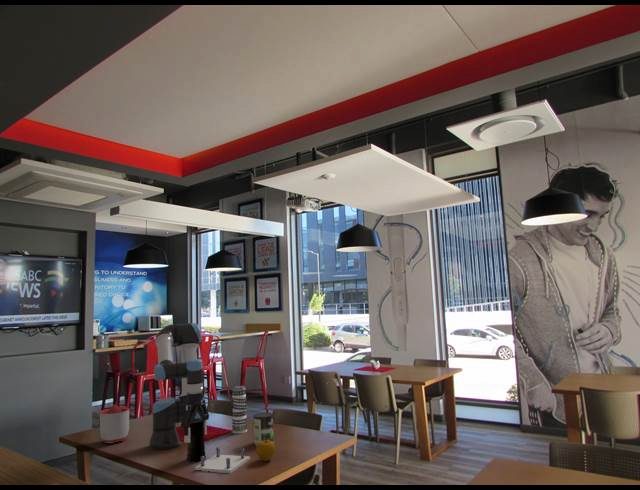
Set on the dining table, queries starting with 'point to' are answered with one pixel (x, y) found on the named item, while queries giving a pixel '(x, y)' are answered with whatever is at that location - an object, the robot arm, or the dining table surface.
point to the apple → (265, 450)
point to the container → (196, 441)
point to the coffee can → (263, 427)
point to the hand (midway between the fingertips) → (195, 438)
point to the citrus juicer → (114, 424)
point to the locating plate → (222, 462)
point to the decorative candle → (239, 409)
